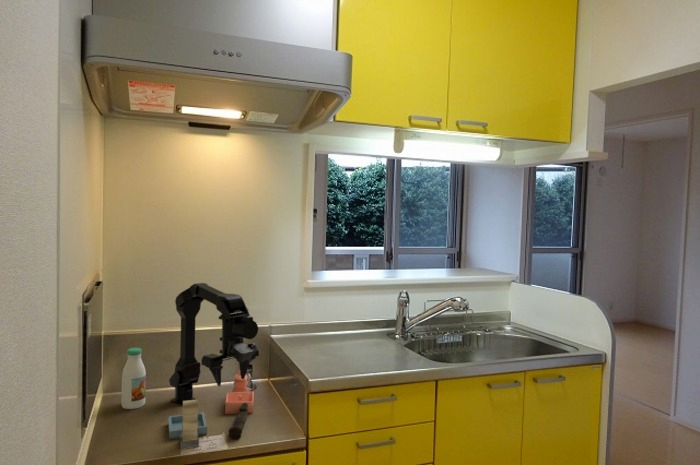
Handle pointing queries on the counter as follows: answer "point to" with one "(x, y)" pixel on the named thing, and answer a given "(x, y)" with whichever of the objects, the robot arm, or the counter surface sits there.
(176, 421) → the tray
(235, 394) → the pottery
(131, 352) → the milk bottle
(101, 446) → the counter surface
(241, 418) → the hand tool
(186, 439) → the beige pillar on base
